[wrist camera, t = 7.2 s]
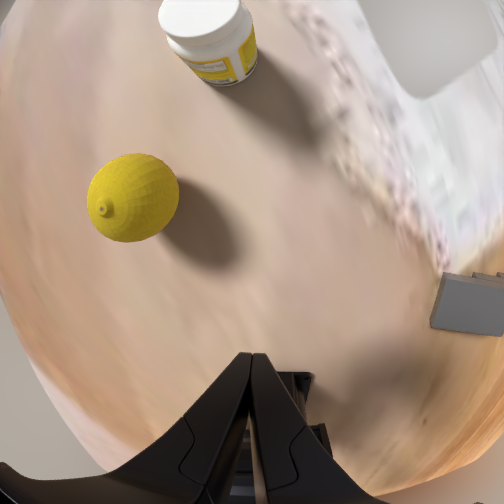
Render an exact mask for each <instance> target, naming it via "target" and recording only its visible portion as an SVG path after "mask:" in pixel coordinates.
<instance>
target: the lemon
mask: <svg viewBox="0 0 504 504" xmlns="http://www.w3.org/2000/svg"><path fill="white" fill-rule="evenodd" d="M178 201H179V185H178V182H177V179H176V177H175V175H174V173H173V172H172V170H171V169H170V168H169V167H168V166H167V165H166V164H165V163H164V162H163V161H161V160H160V159H158V158H156V157H154V156H151V155H146V154H139V153H138V154H129V155H124V156H121V157H119V158H116V159H114V160H112V161H110V162H109V163H107V164H106V165H105V166H104V167H102V168H101V169H100V170H99V171H98V172H97V174H96V175H95V177H94V178H93V179H92V182H91V184H90V187H89V189H88V195H87V209H88V213H89V216H90V219H91V221H92V223H93V224H94V226H95V227H96V228H97V230H98V231H99V232H100V233H102V234H103V235H104V236H106V237H107V238H110V239H112V240H114V241H119V242H135V241H142V240H145V239H147V238H149V237H151V236H154V235H155V234H157V233H158V232H159V231H161V230H162V229H163V228H164V227H165V226H166V225H167V224H168V223H169V221H170V220H171V219H172V217H173V216H174V214H175V211H176V209H177V206H178Z"/></svg>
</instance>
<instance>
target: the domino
mask: <svg viewBox="0 0 504 504" xmlns="http://www.w3.org/2000/svg"><path fill="white" fill-rule="evenodd" d="M430 323H431V327H433V328H439V329H446V330H453V331H459V332H467V333H474V334H482V335H489V336H498V337H502V335H503V332H504V283H499V282H494V281H488V280H483V279H478V278H472V277H467V276H462V275H456V274H451V273H445V272H443V275H442V279H441V283H440V287H439V290H438V294H437V297H436V300H435V304H434V307H433V310H432V313H431V316H430Z"/></svg>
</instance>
